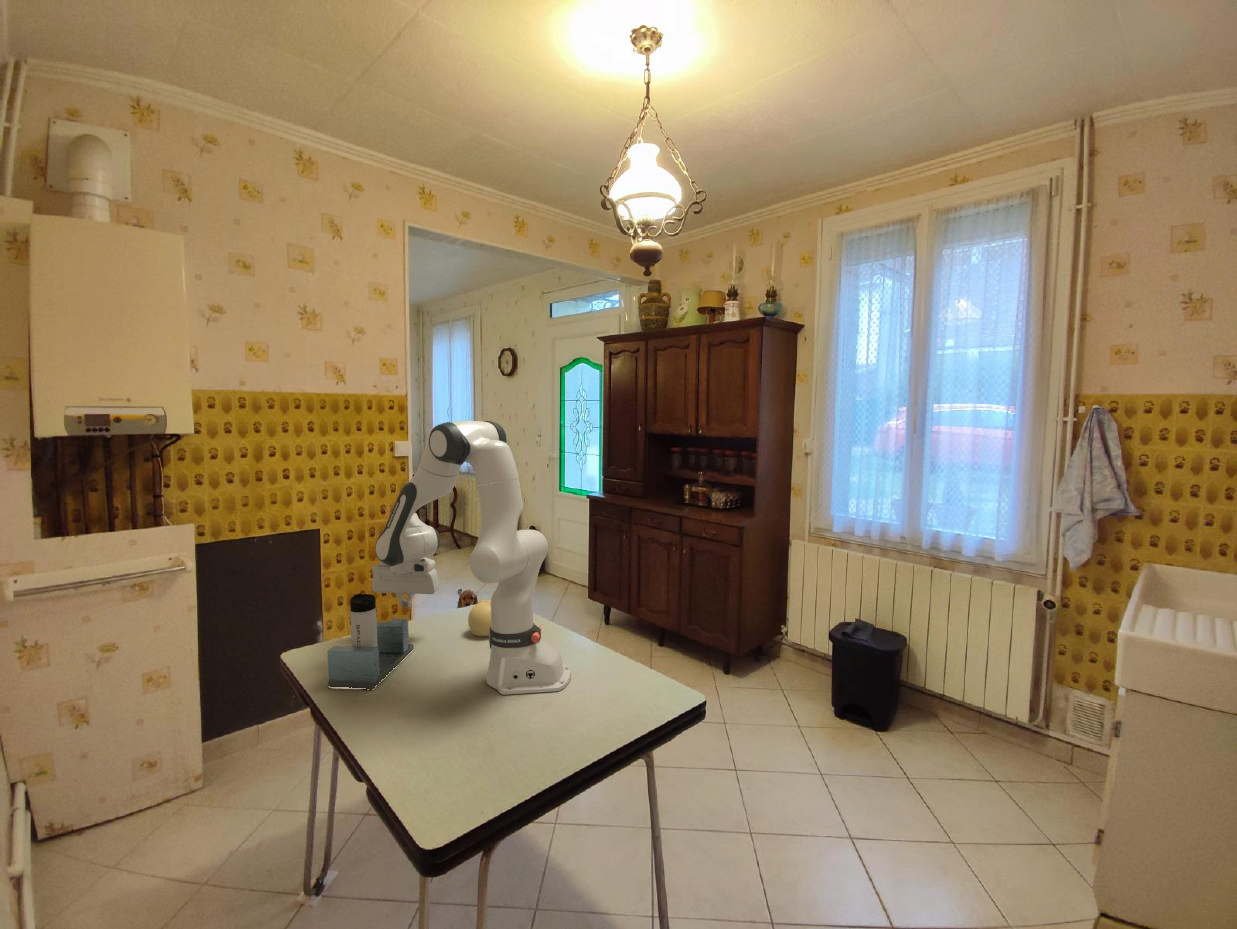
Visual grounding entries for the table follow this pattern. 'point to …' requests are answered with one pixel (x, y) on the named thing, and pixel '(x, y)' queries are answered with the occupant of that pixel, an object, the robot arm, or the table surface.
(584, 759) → the table surface
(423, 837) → the table surface
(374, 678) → the vise
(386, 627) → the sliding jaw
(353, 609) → the travel mug
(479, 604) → the sculpture
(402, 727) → the table surface
